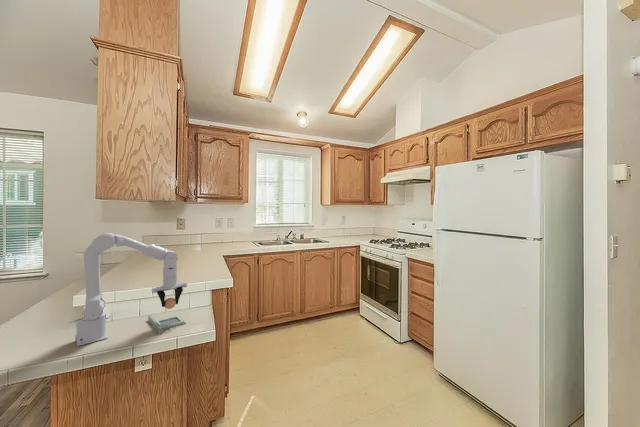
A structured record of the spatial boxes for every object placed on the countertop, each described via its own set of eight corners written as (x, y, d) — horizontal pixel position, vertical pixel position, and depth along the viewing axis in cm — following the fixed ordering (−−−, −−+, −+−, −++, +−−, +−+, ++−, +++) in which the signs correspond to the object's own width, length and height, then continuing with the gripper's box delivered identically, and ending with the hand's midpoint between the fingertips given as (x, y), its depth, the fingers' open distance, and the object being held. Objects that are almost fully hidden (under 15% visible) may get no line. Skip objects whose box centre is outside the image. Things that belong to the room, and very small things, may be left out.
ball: (165, 311, 123) (165, 300, 123) (162, 308, 127) (162, 298, 126) (177, 308, 127) (177, 298, 126) (174, 305, 130) (174, 295, 130)
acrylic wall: (159, 334, 116) (159, 328, 116) (148, 320, 130) (148, 315, 130) (162, 333, 116) (162, 327, 116) (150, 319, 131) (150, 314, 131)
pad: (159, 330, 119) (159, 328, 119) (153, 323, 127) (153, 320, 127) (186, 323, 127) (186, 321, 127) (178, 317, 134) (178, 314, 134)
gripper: (154, 280, 118) (154, 311, 119) (189, 275, 129) (189, 303, 129) (150, 277, 123) (150, 307, 124) (184, 272, 134) (184, 299, 134)
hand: (169, 305), depth 127 cm, fingers closed on ball, 5 cm apart
